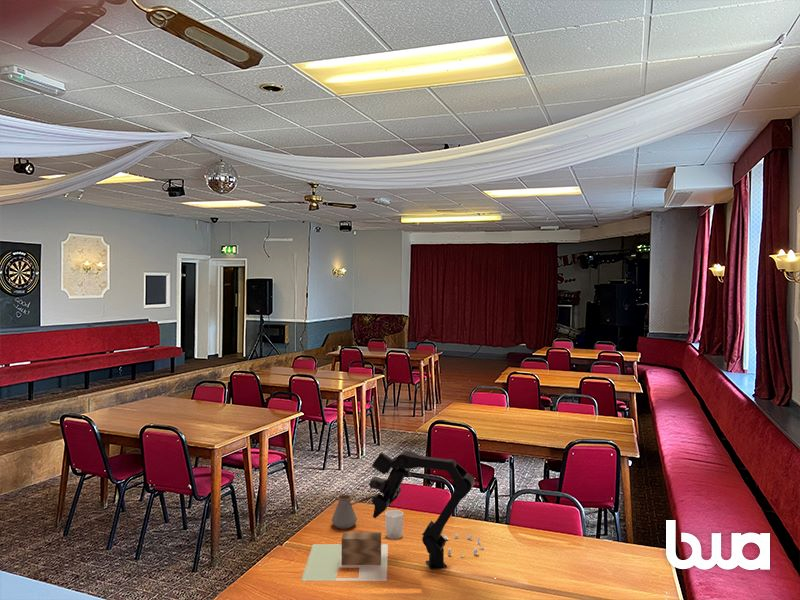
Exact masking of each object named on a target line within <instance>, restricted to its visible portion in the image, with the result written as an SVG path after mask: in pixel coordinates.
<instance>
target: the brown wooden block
mask: <svg viewBox="0 0 800 600" xmlns="http://www.w3.org/2000/svg"><path fill="white" fill-rule="evenodd" d="M341 544H342V552H341V555H342V565H381V544H382V531H381V532H379V531H378V532H373V531H372V532H371V531H370V532H364V531H363V532H349V531H348V532H347V531H346V532H342V535H341Z"/></svg>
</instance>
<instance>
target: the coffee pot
mask: <svg viewBox="0 0 800 600" xmlns="http://www.w3.org/2000/svg"><path fill="white" fill-rule="evenodd" d="M375 495H376V494H375ZM375 495H371V496H367V497H364V498H362V499H359V500H358V501H354V502H351V499H352V496H351V495H349V494H341V495H338V496H337V500H338V503H337V505H336V508H335V510H334V512H333V515H332V517H331V523H332V524H333V525H334V526H335V527H336V528H337V529H340V530H341V529H342V530H344V529H345V530H347V529H351V528H353V526H354V525H355V524H356V523H357V520H358V517H357V515H356V512H355V511H354V508H353V506H354V505H356V504H359V503H363V502H366V501H369V500H372V499H373V497H374V496H375Z"/></svg>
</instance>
